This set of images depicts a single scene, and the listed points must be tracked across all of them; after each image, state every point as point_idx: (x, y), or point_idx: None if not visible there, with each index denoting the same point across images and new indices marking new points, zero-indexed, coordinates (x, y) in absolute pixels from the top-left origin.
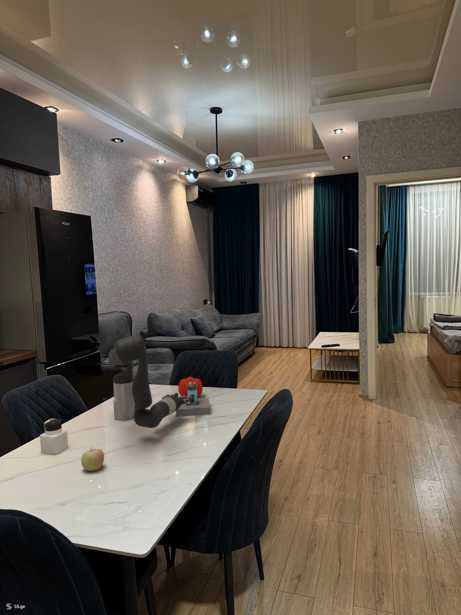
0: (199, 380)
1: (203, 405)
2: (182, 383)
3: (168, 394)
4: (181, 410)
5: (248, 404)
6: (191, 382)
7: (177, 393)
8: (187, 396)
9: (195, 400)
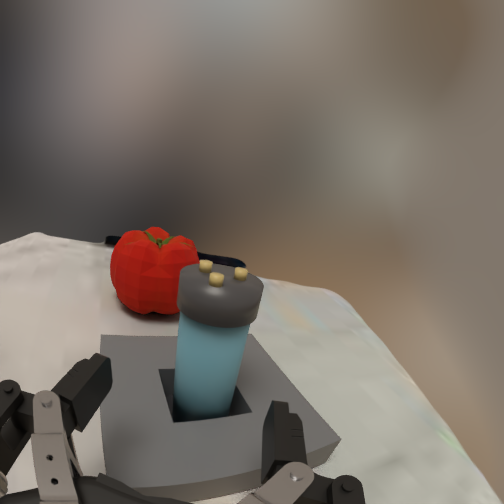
0: (192, 246)
1: None
2: (129, 250)
3: (11, 389)
4: (154, 490)
5: (379, 354)
6: (169, 251)
7: (104, 366)
8: (269, 484)
9: (231, 388)
